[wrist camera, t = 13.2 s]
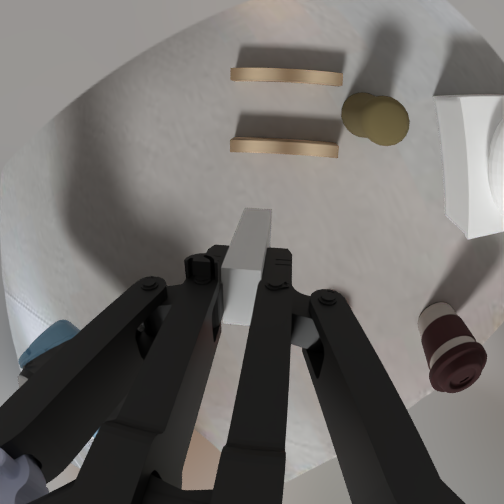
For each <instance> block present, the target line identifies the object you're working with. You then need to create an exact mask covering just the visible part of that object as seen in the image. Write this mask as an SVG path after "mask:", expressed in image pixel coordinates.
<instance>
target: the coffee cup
mask: <svg viewBox="0 0 504 504" xmlns="http://www.w3.org/2000/svg"><path fill="white" fill-rule="evenodd" d="M418 328H419V331H420V335H421V338H422V345H423V349H424V352H425V356H426V359H427V363H428V367H429V369H430V373H429V379H430V382H431V385H432V387H433V388H434V389H435V390H437V391H440V392H448V393H456V392H460V391H462V390H464V389H466V388H468V387H469V386H471V385H472V384H473V383H474V382H475V381H476V380H477V379H478V378H479V376H480V375H481V372H482V370H483V368H484V366H485V364H486V361H487V354H486V351H485V350H484V348H483V346H482V345H481V344H480V343H477V342H476V340H475V338H474V336H473V335H472V333H471V332H470V330H469V329H468V328H467V326H466V325H465V323H464V322H463V320H462V319H461V318H460V317H459V316H458V315H457V314H456V313H455V311H454V310H453V308H452V307H451V306H450V305H449V304H447V303H443V302H439V303H435V304H433V305H431V306H429V307H428V308H426V309H425V310H424V311H423V312H422V314H421V315H420V317H419V320H418Z"/></svg>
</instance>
